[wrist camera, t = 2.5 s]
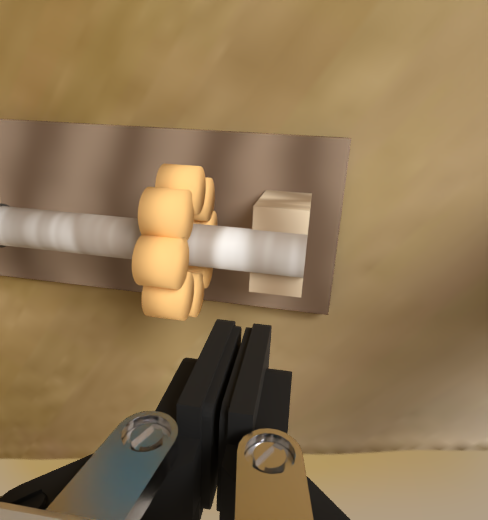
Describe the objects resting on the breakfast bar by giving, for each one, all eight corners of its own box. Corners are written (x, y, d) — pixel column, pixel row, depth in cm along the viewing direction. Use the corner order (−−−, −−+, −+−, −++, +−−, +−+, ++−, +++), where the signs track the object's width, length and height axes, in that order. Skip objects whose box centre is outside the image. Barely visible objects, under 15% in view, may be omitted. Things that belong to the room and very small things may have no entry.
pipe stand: (349, 137, 25) (361, 145, 18) (327, 307, 29) (330, 369, 22) (-60, 115, 30) (-182, 114, 23) (-30, 265, 34) (-125, 304, 27)
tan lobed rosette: (219, 158, 25) (170, 177, 17) (216, 286, 28) (173, 354, 20) (188, 156, 26) (126, 174, 17) (188, 283, 29) (136, 348, 20)
